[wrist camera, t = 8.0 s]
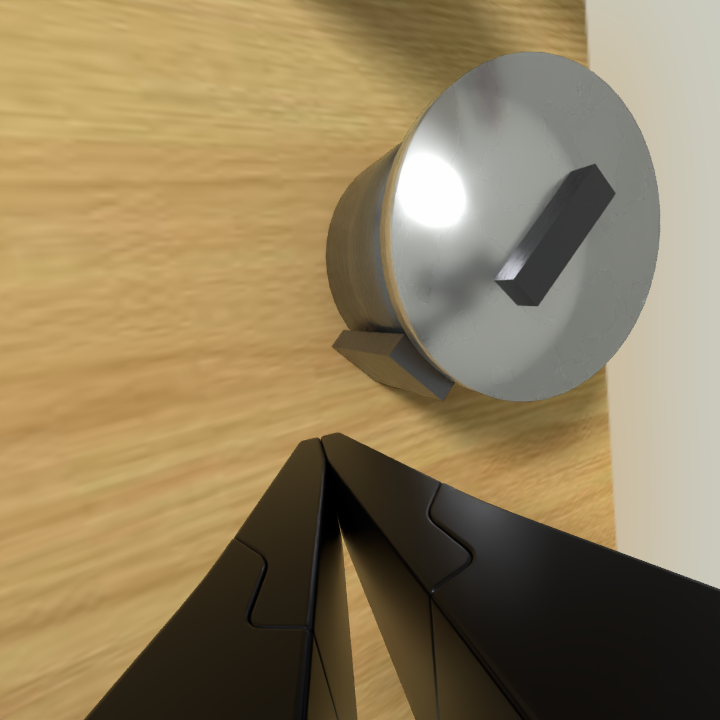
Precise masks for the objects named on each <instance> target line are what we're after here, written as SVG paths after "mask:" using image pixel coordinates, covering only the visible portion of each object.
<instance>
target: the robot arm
mask: <svg viewBox="0 0 720 720" xmlns="http://www.w3.org/2000/svg"><path fill="white" fill-rule="evenodd" d="M338 521H339V522H338ZM339 525H340V527H339ZM340 529H341V532H340ZM341 533H342V536H343V539H344V542H345V544H346V547H347V549H348V552H349V554H350V557H351V559H352V562H353V564H354V567H355V569H356V572H357V574H358V577H359V579H360V582H361V584H362V587H363V589H364V592H365V594H366V597H367V599H368V602H369V604H370V607H371V609H372V612H373V614H374V617H375V619H376V622H377V624H378V627H379V629H380V632H381V634H382V637H383V639H384V642H385V644H386V647H387V649H388V652H389V654H390V657H391V659H392V662H393V664H394V667H395V669H396V672H397V674H398V677H399V679H400V682H401V684H402V687H403V689H404V692H405V694H406V697H407V699H408V702H409V704H410V707H411V709H412V712H413V714H414V717H415V719H416V720H720V589H718V588H715V587H712V586H709V585H707V584H704V583H702V582H699V581H696V580H693V579H691V578H688V577H685V576H683V575H680V574H677V573H674V572H672V571H669V570H666V569H663V568H661V567H658V566H655V565H653V564H650V563H647V562H645V561H642V560H639V559H637V558H634V557H631V556H628V555H626V554H623V553H620V552H618V551H615V550H612V549H609V548H607V547H604V546H601V545H599V544H596V543H593V542H590V541H588V540H585V539H582V538H580V537H577V536H574V535H571V534H569V533H566V532H563V531H561V530H558V529H555V528H552V527H550V526H547V525H544V524H542V523H539V522H536V521H533V520H531V519H528V518H525V517H523V516H520V515H517V514H514V513H512V512H509V511H507V510H504V509H502V508H499V507H497V506H494V505H491V504H489V503H486V502H484V501H482V500H479V499H477V498H475V497H473V496H470V495H468V494H466V493H464V492H462V491H459V490H457V489H455V488H453V487H451V486H449V485H447V484H445V483H443V484H442V483H441V482H439V481H437V480H435V479H433V478H431V477H429V476H427V475H425V474H423V473H421V472H419V471H417V470H415V469H413V468H411V467H409V466H407V465H405V464H403V463H401V462H399V461H397V460H394V459H392V458H390V457H388V456H386V455H384V454H382V453H380V452H378V451H376V450H374V449H372V448H370V447H368V446H366V445H364V444H362V443H360V442H358V441H356V440H354V439H352V438H350V437H348V436H345V435H343V434H341V433H333V434H329V435H325V436H322V437H321V441H320V439H319V438H312V439H308V440H304V441H301V442H300V443H299V444H298V446H297V447H296V449H295V450H294V451H293V453H292V454H291V456H290V457H289V459H288V460H287V462H286V463H285V465H284V466H283V467H282V469H281V470H280V472H279V473H278V475H277V476H276V478H275V479H274V480H273V482H272V483H271V485H270V486H269V488H268V489H267V491H266V492H265V494H264V495H263V496H262V498H261V499H260V501H259V502H258V504H257V505H256V507H255V508H254V509H253V511H252V512H251V514H250V515H249V517H248V518H247V520H246V521H245V522H244V524H243V525H242V527H241V528H240V530H239V531H238V533H237V534H236V536H235V537H234V539H232V540H231V542H230V543H229V544H228V546H227V547H226V549H225V550H224V552H223V553H222V555H221V556H220V557H219V559H218V560H217V561H216V563H215V564H214V565H213V567H212V568H211V569H210V571H209V572H208V573H207V575H206V576H205V578H204V579H203V580H202V581H201V583H200V584H199V585H198V586H197V587H196V589H195V590H194V591H193V592H192V593H191V595H190V596H189V597H188V598H187V600H186V601H185V602H184V603H183V604H182V606H181V607H180V608H179V609H178V610H177V612H176V613H175V614H174V615H173V616H172V617H171V619H170V620H169V621H168V622H167V623H166V624H165V626H164V627H163V628H162V629H161V630H160V631H159V633H158V634H157V635H156V636H155V637H154V638H153V640H152V641H151V642H150V643H149V644H148V645H147V647H146V648H145V649H144V650H143V651H142V652H141V654H140V655H139V656H138V657H137V658H136V659H135V661H134V662H133V663H132V664H131V665H130V666H129V668H128V669H127V670H126V671H125V672H124V673H123V675H122V676H121V677H120V678H119V679H118V680H117V682H116V683H115V684H114V685H113V686H112V687H111V689H110V690H109V691H108V692H107V693H106V694H105V696H104V697H103V698H102V699H101V700H100V701H99V703H98V704H97V705H96V706H95V707H94V708H93V710H92V711H91V712H90V713H89V714H88V715H87V717H86V718H85V719H84V720H357V708H356V697H355V685H354V673H353V662H352V650H351V639H350V627H349V615H348V604H347V592H346V581H345V569H344V557H343V546H342V538H341Z"/></svg>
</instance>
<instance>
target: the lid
mask: <svg viewBox="0 0 720 720" xmlns="http://www.w3.org/2000/svg"><path fill="white" fill-rule="evenodd" d="M659 237H660V205H659V194H658V186H657V181H656V176H655V171H654V167H653V164H652V160H651V156H650V153H649V150H648V147H647V145H646V142H645V140H644V137H643V135H642V133H641V130H640V128H639V127H638V125H637V123H636V121H635V120H634V118H633V115H632V114H631V112H630V111H629V110H628V108H627V107H626V105H625V104H624V102H623V101H622V100H621V98H620V97H619V96H618V95H617V94H616V93H615V92H614V90H613V89H612V88H611V87H610V86H609V85H608V84H607V83H606V82H605V81H603V80H602V79H601V78H600V77H599V76H597V75H596V74H595V73H594V72H592V71H591V70H589V69H587V68H586V67H584V66H582V65H581V64H579V63H577V62H575V61H572V60H570V59H567V58H564V57H562V56H559V55H554V54H549V53H544V52H519V53H514V54H508V55H503V56H500V57H498V58H495V59H492V60H489V61H487V62H484V63H483V64H481V65H479V66H477V67H476V68H474V69H472V70H471V71H469V72H467V73H466V74H465V75H463V76H462V77H461V78H459V79H458V80H457V81H456V82H454V83H453V84H452V85H451V86H449V87H448V88H447V89H446V90H444V91H443V92H442V93H441V94H440V95H438V96H437V97H436V98H435V99H433V100H432V102H431V103H430V104H429V105H428V106H427V107H426V108H425V109H424V110H423V112H422V113H421V114H420V115H419V116H418V117H417V119H416V120H415V122H414V123H413V125H412V126H411V128H410V129H409V131H408V132H407V134H406V135H405V138H404V140H403V142H402V144H401V146H400V148H399V150H398V152H397V154H396V156H395V158H394V161H393V164H392V167H391V170H390V173H389V176H388V179H387V183H386V188H385V193H384V197H383V202H382V211H381V222H380V252H381V260H382V267H383V274H384V279H385V283H386V286H387V290H388V294H389V298H390V301H391V303H392V305H393V308H394V310H395V313H396V315H397V318H398V320H399V322H400V324H401V326H402V327H403V329H404V331H405V333H406V335H407V336H408V338H409V340H410V341H411V342H412V344H413V345H414V346H415V348H416V349H417V350H418V352H419V353H420V354H421V355H422V356H423V357H424V358H425V359H426V360H427V361H428V362H429V363H430V364H431V365H432V366H433V367H434V368H435V369H436V370H437V371H439V372H440V373H441V374H443V375H444V376H445V377H447V378H448V379H450V380H451V381H453V382H455V383H457V384H459V385H461V386H463V387H465V388H468V389H470V390H473V391H476V392H479V393H482V394H485V395H488V396H491V397H494V398H496V399H502V400H508V401H525V402H530V401H537V400H543V399H548V398H551V397H554V396H557V395H560V394H563V393H565V392H567V391H569V390H571V389H573V388H575V387H577V386H579V385H580V384H582V383H583V382H585V381H586V380H588V379H589V378H591V377H592V376H593V375H594V374H595V373H597V372H598V371H599V370H600V369H601V368H602V367H603V366H604V365H605V364H606V363H607V362H608V361H609V360H610V359H611V358H612V357H613V356H614V354H615V353H616V352H617V351H618V349H619V348H620V347H621V345H622V344H623V343H624V341H625V340H626V339H627V337H628V335H629V334H630V332H631V330H632V328H633V327H634V325H635V323H636V321H637V319H638V317H639V315H640V313H641V311H642V308H643V306H644V304H645V301H646V298H647V295H648V293H649V290H650V287H651V283H652V279H653V275H654V271H655V266H656V261H657V255H658V249H659Z"/></svg>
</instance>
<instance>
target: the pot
mask: <svg viewBox="0 0 720 720" xmlns="http://www.w3.org/2000/svg"><path fill="white" fill-rule="evenodd" d="M402 142H403V141H402ZM402 142H401V143H400V144H398V145H397V146H396V147H394V148H393V149H392V150H390V151H389V152H388V153H386V154H385V155H384V156H382V157H381V158H380V159H379V160H377V161H376V162H375V163H373V164H372V165H371V166H369V167H368V168H367V169H365V170H364V171H363V172H362V173H361V174H359V175H358V176H357V177H356V178H355V179H354V181H353V182H352V183H351V184H350V185H349V186H348V188H347V189H346V191H345V192H344V194H343V195H342V197H341V198H340V200H339V202H338V205H337V207H336V209H335V211H334V214H333V217H332V220H331V223H330V226H329V232H328V237H327V246H326V265H327V275H328V280H329V286H330V289H331V292H332V295H333V299H334V302H335V304H336V306H337V308H338V310H339V313H340V315H341V316H342V318H343V320H344V321H345V323H346V324H347V326H348V327H349V329H350V330H351V331H347V330H343V331H342V333H341V334H340V336H339V337H338V339H337V340H336V341H335V343H334V344H333V346H332V347H333V348H334V349H335V350H337V351H338V352H339V353H340V354H342V355H343V356H344V357H346V358H347V359H348V360H349V361H351V362H352V363H353V364H354V365H356V366H357V367H358V368H359V369H361V370H362V371H363V372H364V373H366V374H367V375H368V376H370V377H371V378H372V379H373V380H375V381H377V382H380V383H383V384H387V385H390V386H393V387H397V388H400V389H403V390H407V391H410V392H413V393H417V394H420V395H423V396H427V397H430V398H433V399H437V400H440V401H443V400H444V399H445V397H446V395H447V394H448V392H449V391H450V389H451V388H452V386H453V385H454V383H455V382H453V381H451V380H450V379H448V378H447V377H445V376H444V375H443V374H441V373H440V372H439V371H437V370H436V369H435V368H434V367H433V366H432V365H431V364H430V363H429V362H428V361H427V360H426V359H425V358H424V357H423V356H422V355H421V354H420V353H419V352H418V350H417V349H416V348H415V346H414V345H413V344H412V342H411V341H410V340H409V338H408V336H407V335H406V333H405V331H404V329H403V327H402V326H401V324H400V322H399V320H398V318H397V315H396V313H395V310H394V308H393V305H392V303H391V301H390V298H389V294H388V290H387V286H386V283H385V279H384V274H383V267H382V260H381V252H380V222H381V211H382V202H383V197H384V193H385V188H386V183H387V179H388V176H389V173H390V170H391V167H392V164H393V161H394V158H395V156H396V154H397V152H398V150H399V148H400V146H401V144H402Z"/></svg>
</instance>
